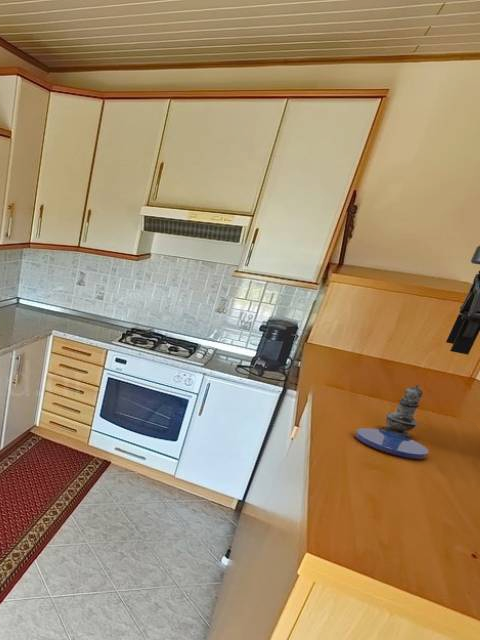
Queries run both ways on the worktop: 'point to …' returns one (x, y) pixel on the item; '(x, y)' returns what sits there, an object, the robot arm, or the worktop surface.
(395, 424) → the grey tall tiered piece
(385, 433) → the plate
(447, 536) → the worktop surface
